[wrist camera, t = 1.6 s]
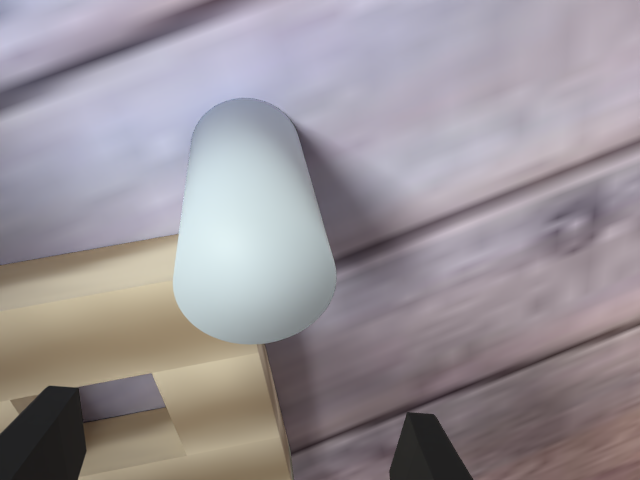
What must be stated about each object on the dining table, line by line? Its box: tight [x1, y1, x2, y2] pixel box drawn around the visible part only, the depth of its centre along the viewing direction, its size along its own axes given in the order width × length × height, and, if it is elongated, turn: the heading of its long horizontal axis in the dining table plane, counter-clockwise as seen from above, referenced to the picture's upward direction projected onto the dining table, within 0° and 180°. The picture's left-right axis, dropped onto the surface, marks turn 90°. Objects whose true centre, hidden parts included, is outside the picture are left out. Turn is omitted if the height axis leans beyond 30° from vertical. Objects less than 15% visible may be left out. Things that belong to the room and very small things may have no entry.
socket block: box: [0, 234, 294, 480], centre depth 23 cm, size 15×15×5 cm
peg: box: [173, 98, 337, 345], centre depth 17 cm, size 4×4×8 cm
